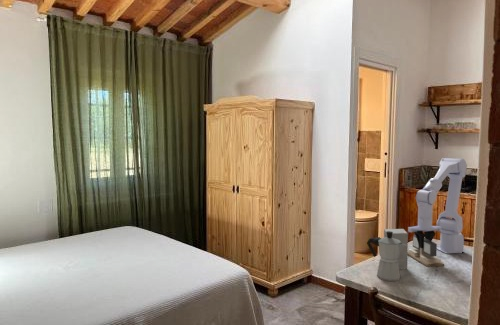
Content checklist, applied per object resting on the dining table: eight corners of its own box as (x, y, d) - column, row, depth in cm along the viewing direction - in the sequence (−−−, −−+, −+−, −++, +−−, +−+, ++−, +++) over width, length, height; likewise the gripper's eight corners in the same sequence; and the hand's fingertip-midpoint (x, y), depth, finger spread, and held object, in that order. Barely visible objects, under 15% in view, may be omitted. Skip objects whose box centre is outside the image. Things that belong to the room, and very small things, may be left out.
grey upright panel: (436, 256, 158) (436, 243, 158) (430, 256, 158) (430, 244, 157) (417, 246, 172) (417, 234, 172) (412, 246, 172) (412, 234, 171)
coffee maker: (407, 276, 146) (409, 231, 144) (403, 284, 138) (404, 236, 137) (369, 269, 154) (370, 226, 152) (363, 276, 147) (364, 231, 145)
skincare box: (402, 264, 159) (403, 228, 158) (408, 270, 152) (409, 232, 151) (382, 264, 160) (383, 227, 158) (386, 270, 153) (387, 232, 151)
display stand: (421, 252, 174) (421, 242, 174) (444, 265, 157) (444, 253, 157) (404, 253, 173) (405, 242, 173) (426, 266, 156) (426, 254, 156)
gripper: (414, 219, 159) (413, 251, 160) (446, 218, 161) (445, 249, 162) (405, 216, 166) (404, 246, 167) (436, 215, 168) (435, 244, 169)
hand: (424, 247), depth 165 cm, fingers closed on grey upright panel, 2 cm apart
